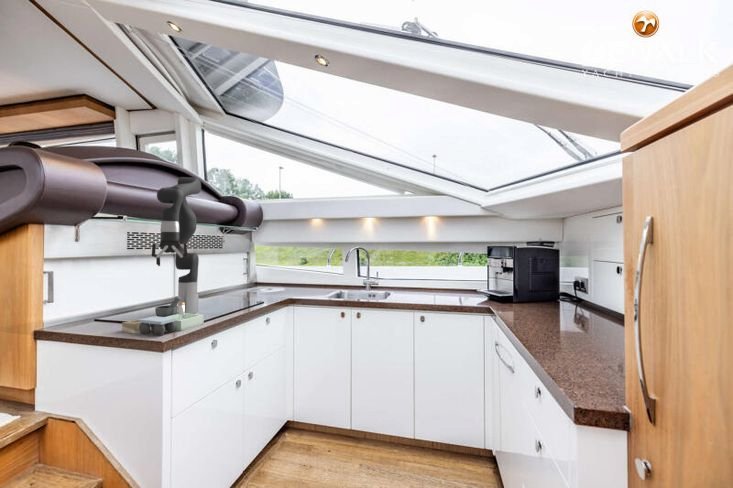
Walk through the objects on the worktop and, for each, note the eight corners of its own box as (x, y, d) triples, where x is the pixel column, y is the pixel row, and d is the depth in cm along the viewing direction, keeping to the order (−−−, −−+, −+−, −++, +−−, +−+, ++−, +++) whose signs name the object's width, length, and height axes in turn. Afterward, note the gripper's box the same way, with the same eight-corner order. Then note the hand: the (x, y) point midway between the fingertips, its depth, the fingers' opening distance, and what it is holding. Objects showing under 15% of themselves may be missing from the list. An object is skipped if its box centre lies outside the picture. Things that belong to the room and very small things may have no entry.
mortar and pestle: (151, 323, 155) (152, 298, 156) (158, 319, 164) (158, 295, 164) (178, 322, 159) (178, 297, 159) (183, 318, 168) (183, 294, 168)
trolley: (138, 333, 137) (138, 319, 138) (153, 329, 144) (153, 316, 144) (161, 336, 134) (162, 321, 134) (176, 332, 141) (176, 318, 141)
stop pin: (181, 323, 152) (181, 302, 152) (185, 323, 151) (185, 302, 151) (177, 324, 150) (177, 302, 150) (181, 325, 149) (181, 303, 149)
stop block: (137, 327, 147) (137, 319, 147) (149, 329, 145) (149, 320, 145) (122, 331, 140) (122, 322, 140) (134, 333, 138) (134, 323, 138)
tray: (181, 322, 159) (181, 313, 159) (203, 324, 155) (203, 314, 155) (157, 328, 146) (158, 318, 146) (181, 331, 142) (181, 320, 142)
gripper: (187, 231, 159) (187, 264, 159) (152, 230, 152) (152, 265, 152) (187, 231, 152) (187, 265, 152) (151, 230, 145) (151, 266, 145)
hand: (169, 265), depth 152 cm, fingers open, 8 cm apart
